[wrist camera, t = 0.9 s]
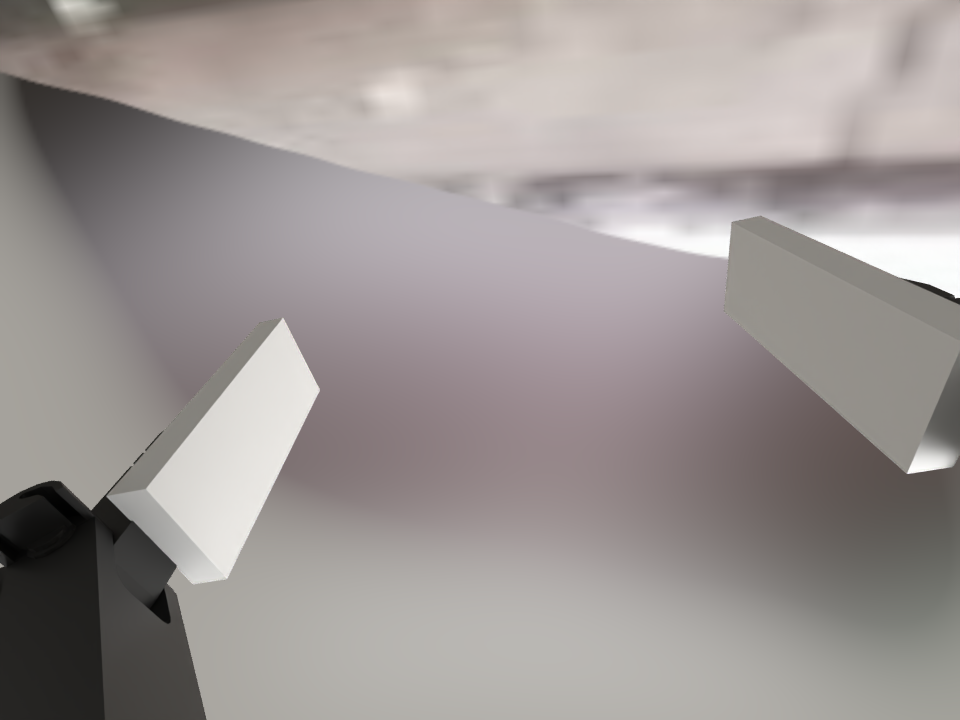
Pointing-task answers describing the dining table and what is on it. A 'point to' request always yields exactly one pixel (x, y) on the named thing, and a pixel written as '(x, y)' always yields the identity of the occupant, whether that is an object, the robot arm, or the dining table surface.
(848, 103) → the dining table surface
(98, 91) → the dining table surface
